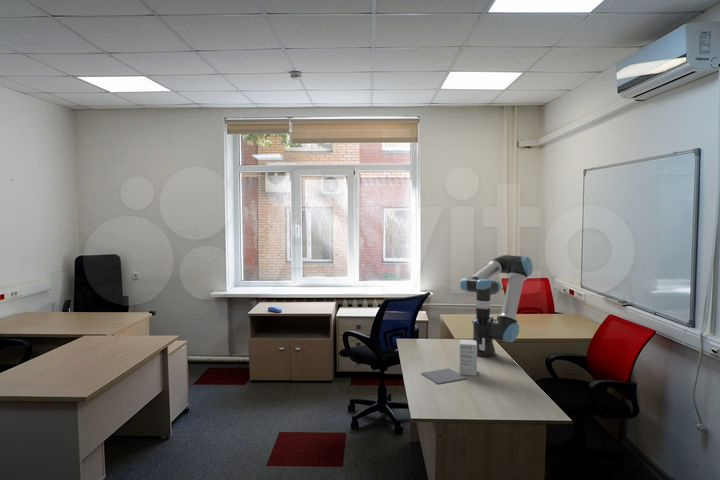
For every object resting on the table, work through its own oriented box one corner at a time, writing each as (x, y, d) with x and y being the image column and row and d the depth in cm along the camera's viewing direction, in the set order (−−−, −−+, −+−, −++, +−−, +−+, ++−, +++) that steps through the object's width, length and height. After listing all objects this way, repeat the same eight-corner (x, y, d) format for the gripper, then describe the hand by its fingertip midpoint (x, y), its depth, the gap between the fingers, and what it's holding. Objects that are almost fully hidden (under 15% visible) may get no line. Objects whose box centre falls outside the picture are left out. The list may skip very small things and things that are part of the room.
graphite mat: (448, 369, 261) (448, 368, 261) (466, 379, 246) (466, 377, 246) (421, 373, 253) (421, 372, 253) (437, 384, 239) (437, 383, 239)
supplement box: (476, 376, 251) (477, 345, 249) (459, 374, 252) (459, 344, 251) (475, 370, 260) (476, 340, 259) (458, 368, 262) (459, 339, 261)
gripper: (488, 305, 263) (486, 346, 265) (469, 307, 258) (468, 349, 260) (497, 307, 257) (495, 350, 258) (477, 309, 251) (476, 353, 253)
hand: (481, 349), depth 259 cm, fingers closed
